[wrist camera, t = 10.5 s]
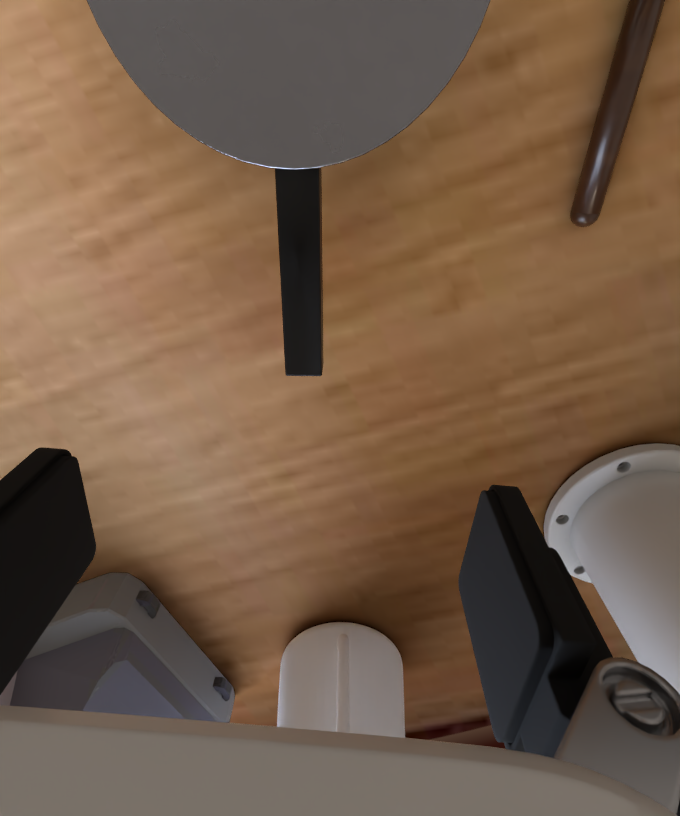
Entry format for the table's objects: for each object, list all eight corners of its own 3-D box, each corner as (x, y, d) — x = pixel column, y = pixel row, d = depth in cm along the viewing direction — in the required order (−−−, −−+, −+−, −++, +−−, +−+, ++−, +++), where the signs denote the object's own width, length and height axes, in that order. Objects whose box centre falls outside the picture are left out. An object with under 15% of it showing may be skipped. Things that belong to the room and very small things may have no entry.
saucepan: (480, -236, 18) (584, -553, 10) (425, 336, 29) (454, 403, 21) (122, -235, 18) (-56, -545, 10) (200, 333, 29) (143, 398, 21)
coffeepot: (414, 552, 37) (469, 874, 20) (391, 732, 48) (413, 1030, 32) (276, 548, 37) (217, 866, 20) (286, 728, 48) (253, 1025, 32)
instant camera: (-53, 601, 40) (-250, 816, 27) (169, 562, 38) (71, 779, 24) (69, 736, 50) (-32, 944, 37) (254, 712, 47) (216, 928, 34)
